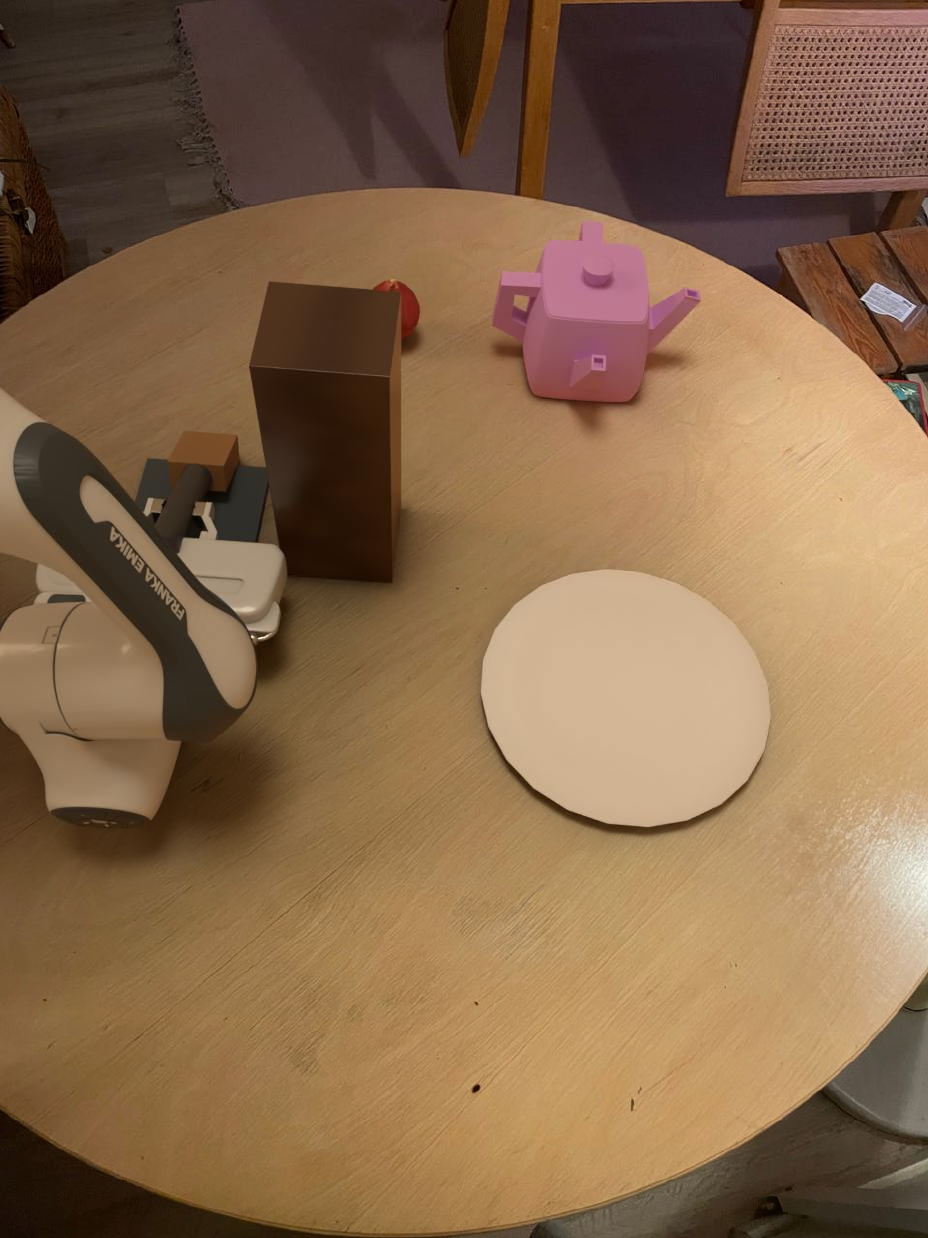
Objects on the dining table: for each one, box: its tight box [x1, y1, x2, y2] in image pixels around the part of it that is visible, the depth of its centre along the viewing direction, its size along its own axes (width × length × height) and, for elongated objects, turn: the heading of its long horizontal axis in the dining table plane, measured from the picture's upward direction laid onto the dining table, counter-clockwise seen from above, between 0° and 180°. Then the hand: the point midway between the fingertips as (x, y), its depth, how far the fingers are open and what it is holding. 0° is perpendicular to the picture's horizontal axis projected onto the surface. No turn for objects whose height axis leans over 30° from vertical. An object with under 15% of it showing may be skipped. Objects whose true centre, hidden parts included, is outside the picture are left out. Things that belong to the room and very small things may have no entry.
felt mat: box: [134, 457, 269, 543], centre depth 96 cm, size 12×20×1 cm, turn 177°
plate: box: [480, 568, 772, 829], centre depth 89 cm, size 25×25×2 cm
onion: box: [372, 278, 421, 340], centre depth 109 cm, size 6×6×8 cm
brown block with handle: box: [154, 430, 240, 554], centre depth 93 cm, size 18×5×3 cm, turn 177°
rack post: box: [248, 280, 402, 584], centre depth 87 cm, size 10×9×26 cm
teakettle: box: [491, 220, 702, 403], centre depth 107 cm, size 17×17×12 cm
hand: (182, 504), depth 92 cm, fingers closed on brown block with handle, 3 cm apart
